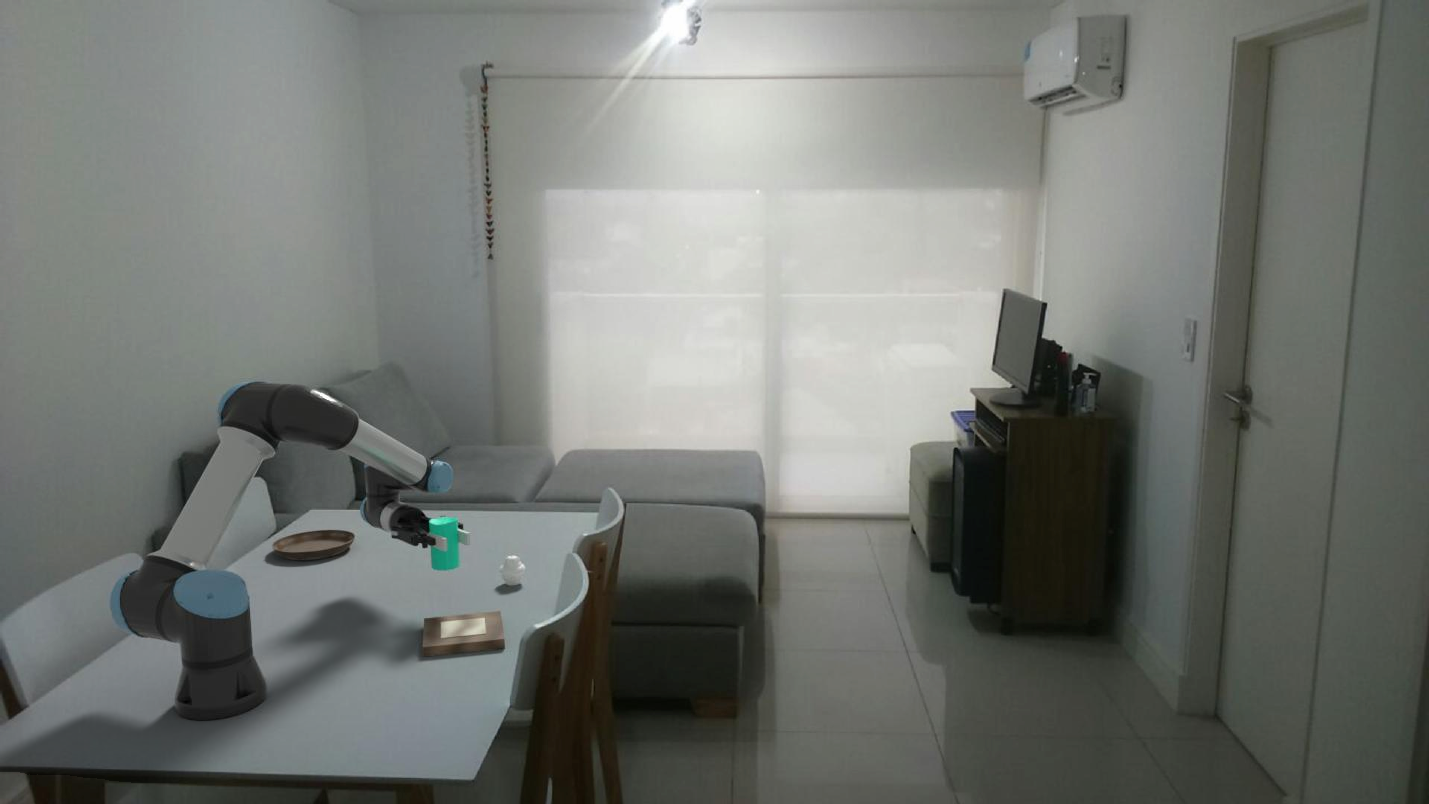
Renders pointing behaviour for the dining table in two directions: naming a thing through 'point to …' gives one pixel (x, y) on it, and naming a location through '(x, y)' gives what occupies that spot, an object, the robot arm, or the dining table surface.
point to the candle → (449, 531)
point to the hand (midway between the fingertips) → (457, 542)
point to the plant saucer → (313, 544)
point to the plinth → (463, 633)
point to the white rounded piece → (512, 570)
